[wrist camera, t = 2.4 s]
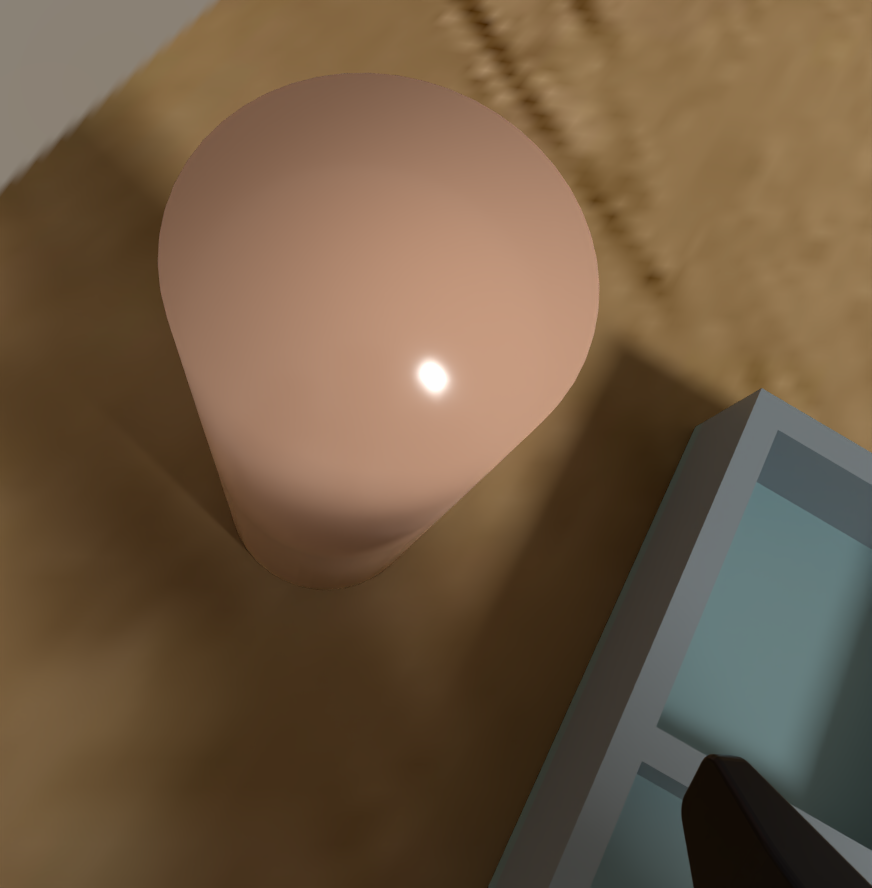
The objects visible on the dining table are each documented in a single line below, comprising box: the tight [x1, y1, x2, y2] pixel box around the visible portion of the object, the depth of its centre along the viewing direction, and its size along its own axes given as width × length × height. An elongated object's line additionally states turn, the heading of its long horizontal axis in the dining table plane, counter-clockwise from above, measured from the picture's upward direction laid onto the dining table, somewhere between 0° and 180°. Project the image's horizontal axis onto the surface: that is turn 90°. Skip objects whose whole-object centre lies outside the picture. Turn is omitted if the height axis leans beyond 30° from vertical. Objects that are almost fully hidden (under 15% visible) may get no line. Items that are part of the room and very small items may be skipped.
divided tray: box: [488, 388, 872, 888], centre depth 20 cm, size 18×10×4 cm, turn 151°
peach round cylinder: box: [158, 73, 599, 590], centre depth 15 cm, size 5×5×13 cm
